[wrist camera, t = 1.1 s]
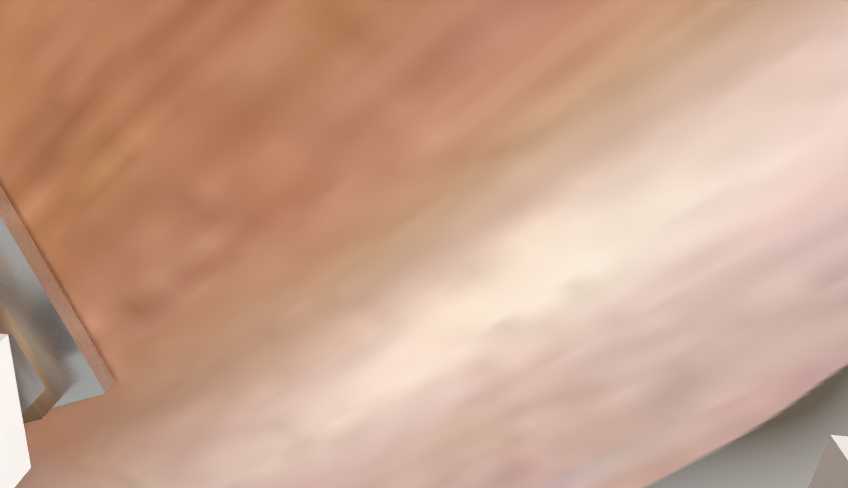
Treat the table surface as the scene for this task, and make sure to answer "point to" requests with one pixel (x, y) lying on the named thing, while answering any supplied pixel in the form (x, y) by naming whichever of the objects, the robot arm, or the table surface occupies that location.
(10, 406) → the robot arm
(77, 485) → the table surface
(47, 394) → the rail and fixed leg
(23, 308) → the bolt plate
